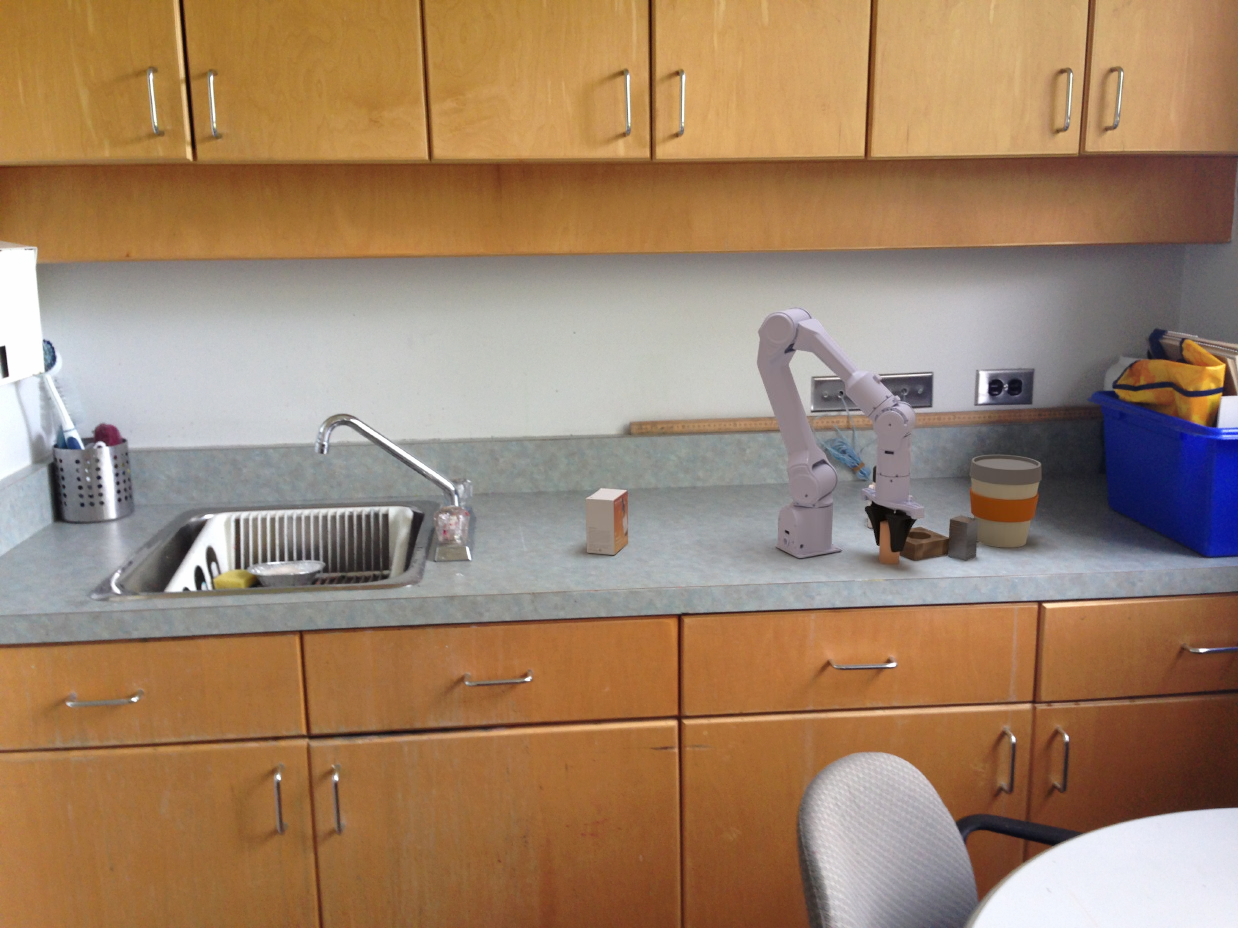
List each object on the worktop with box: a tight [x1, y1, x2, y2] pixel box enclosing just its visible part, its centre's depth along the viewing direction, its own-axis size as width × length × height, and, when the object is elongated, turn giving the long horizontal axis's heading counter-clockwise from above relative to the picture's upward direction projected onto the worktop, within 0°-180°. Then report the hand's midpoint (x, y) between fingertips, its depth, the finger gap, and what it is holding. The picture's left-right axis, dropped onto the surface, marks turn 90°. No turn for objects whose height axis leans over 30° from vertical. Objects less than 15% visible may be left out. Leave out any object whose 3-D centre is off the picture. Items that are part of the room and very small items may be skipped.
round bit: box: [878, 520, 901, 565], centre depth 182 cm, size 4×4×7 cm
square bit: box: [947, 514, 979, 562], centre depth 184 cm, size 4×4×7 cm
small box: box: [585, 487, 629, 556], centre depth 192 cm, size 8×6×10 cm
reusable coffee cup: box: [968, 454, 1043, 548], centre depth 192 cm, size 13×13×15 cm
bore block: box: [899, 526, 949, 562], centre depth 188 cm, size 8×8×3 cm
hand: (889, 548), depth 182 cm, fingers closed on round bit, 3 cm apart
